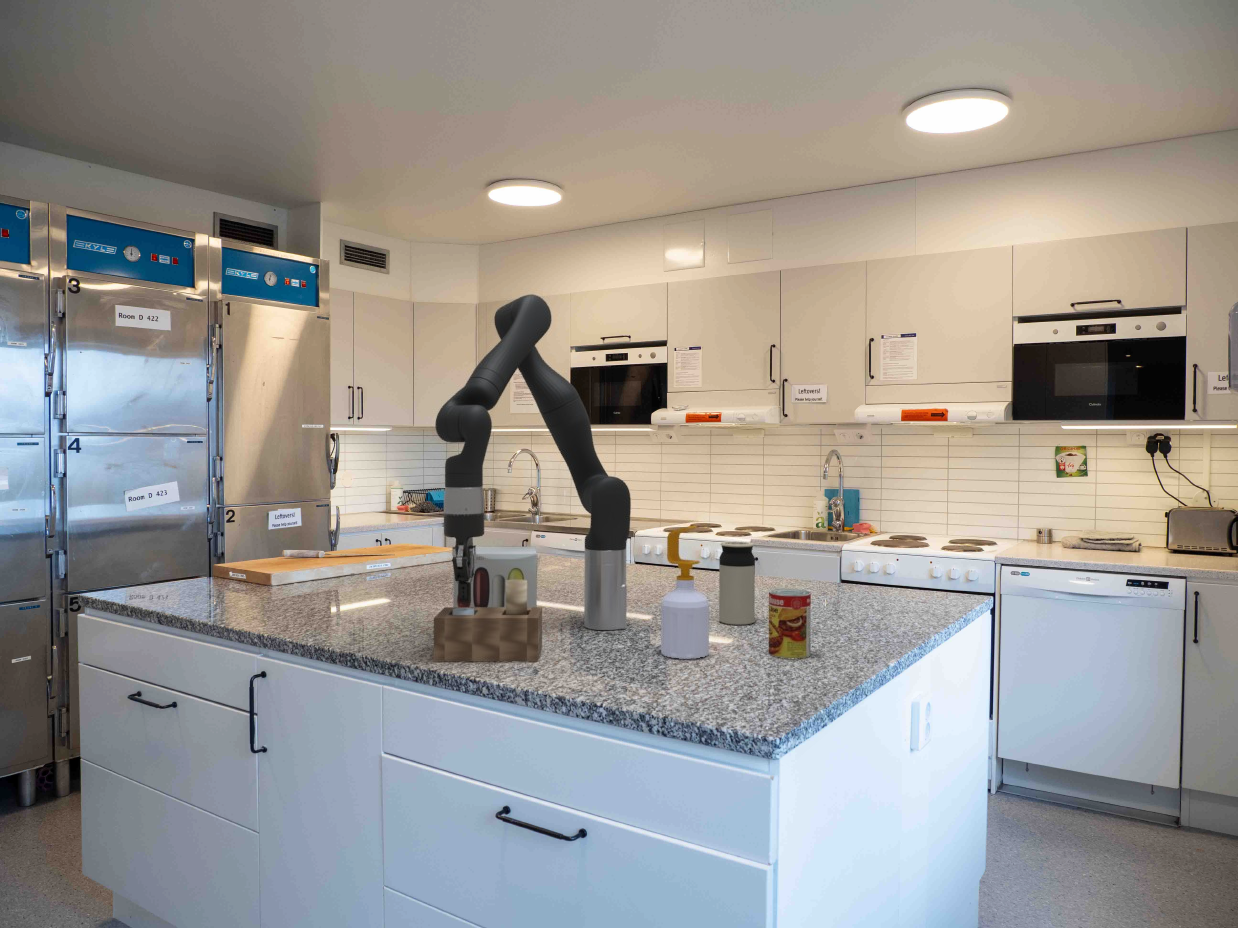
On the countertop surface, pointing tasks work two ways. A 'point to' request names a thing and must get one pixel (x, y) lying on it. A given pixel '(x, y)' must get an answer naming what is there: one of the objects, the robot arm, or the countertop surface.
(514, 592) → the birch peg
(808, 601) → the canned food
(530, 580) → the supplement box
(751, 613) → the travel mug
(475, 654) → the walnut block
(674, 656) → the soap bottle
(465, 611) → the blue-grey peg
